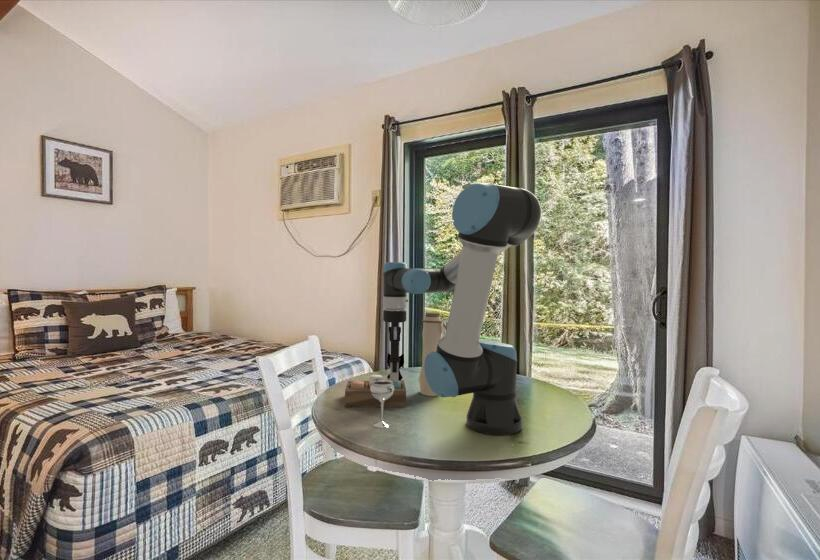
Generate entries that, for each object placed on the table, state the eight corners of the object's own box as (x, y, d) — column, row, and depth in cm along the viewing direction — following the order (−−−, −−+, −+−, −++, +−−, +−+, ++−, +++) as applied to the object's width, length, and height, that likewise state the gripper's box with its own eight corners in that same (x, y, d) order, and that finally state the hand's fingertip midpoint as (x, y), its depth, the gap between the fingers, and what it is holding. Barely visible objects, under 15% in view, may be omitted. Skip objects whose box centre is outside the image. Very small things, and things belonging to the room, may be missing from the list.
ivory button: (382, 394, 137) (382, 378, 137) (368, 394, 136) (369, 378, 136) (382, 390, 141) (382, 374, 141) (369, 390, 141) (369, 374, 141)
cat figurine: (383, 387, 155) (384, 354, 154) (388, 382, 161) (388, 350, 161) (403, 388, 153) (403, 355, 153) (406, 383, 160) (406, 351, 160)
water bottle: (448, 389, 152) (449, 311, 151) (448, 397, 143) (449, 314, 142) (420, 388, 153) (420, 311, 152) (418, 396, 144) (418, 313, 143)
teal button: (401, 399, 137) (401, 384, 137) (387, 400, 137) (387, 384, 137) (400, 395, 142) (400, 380, 141) (387, 396, 141) (387, 380, 141)
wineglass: (377, 430, 113) (377, 386, 113) (365, 422, 119) (365, 380, 119) (398, 425, 117) (399, 382, 117) (386, 418, 123) (386, 377, 122)
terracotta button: (363, 400, 136) (363, 384, 136) (350, 400, 136) (350, 384, 136) (364, 396, 141) (364, 380, 141) (351, 396, 141) (351, 380, 140)
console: (405, 406, 134) (406, 390, 133) (344, 407, 132) (344, 391, 132) (403, 394, 146) (404, 380, 145) (347, 395, 144) (348, 380, 144)
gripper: (407, 311, 132) (406, 386, 133) (405, 307, 145) (404, 376, 146) (383, 311, 132) (382, 387, 132) (383, 307, 145) (382, 376, 145)
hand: (394, 381), depth 139 cm, fingers closed
